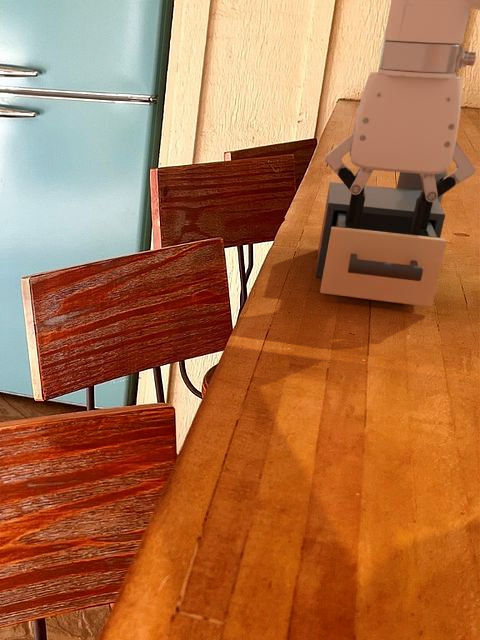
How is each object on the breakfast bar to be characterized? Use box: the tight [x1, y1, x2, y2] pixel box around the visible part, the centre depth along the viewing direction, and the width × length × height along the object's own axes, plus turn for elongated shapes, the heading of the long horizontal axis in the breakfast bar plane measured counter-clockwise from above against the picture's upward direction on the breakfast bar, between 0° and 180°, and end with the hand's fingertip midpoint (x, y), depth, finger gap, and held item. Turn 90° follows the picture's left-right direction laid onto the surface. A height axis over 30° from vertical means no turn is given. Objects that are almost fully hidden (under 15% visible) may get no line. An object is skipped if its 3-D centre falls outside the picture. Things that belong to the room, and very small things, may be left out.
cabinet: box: [315, 181, 446, 279], centre depth 110 cm, size 15×13×9 cm
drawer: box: [319, 211, 448, 308], centre depth 99 cm, size 18×11×7 cm, turn 160°
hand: (384, 230), depth 99 cm, fingers open, 5 cm apart
